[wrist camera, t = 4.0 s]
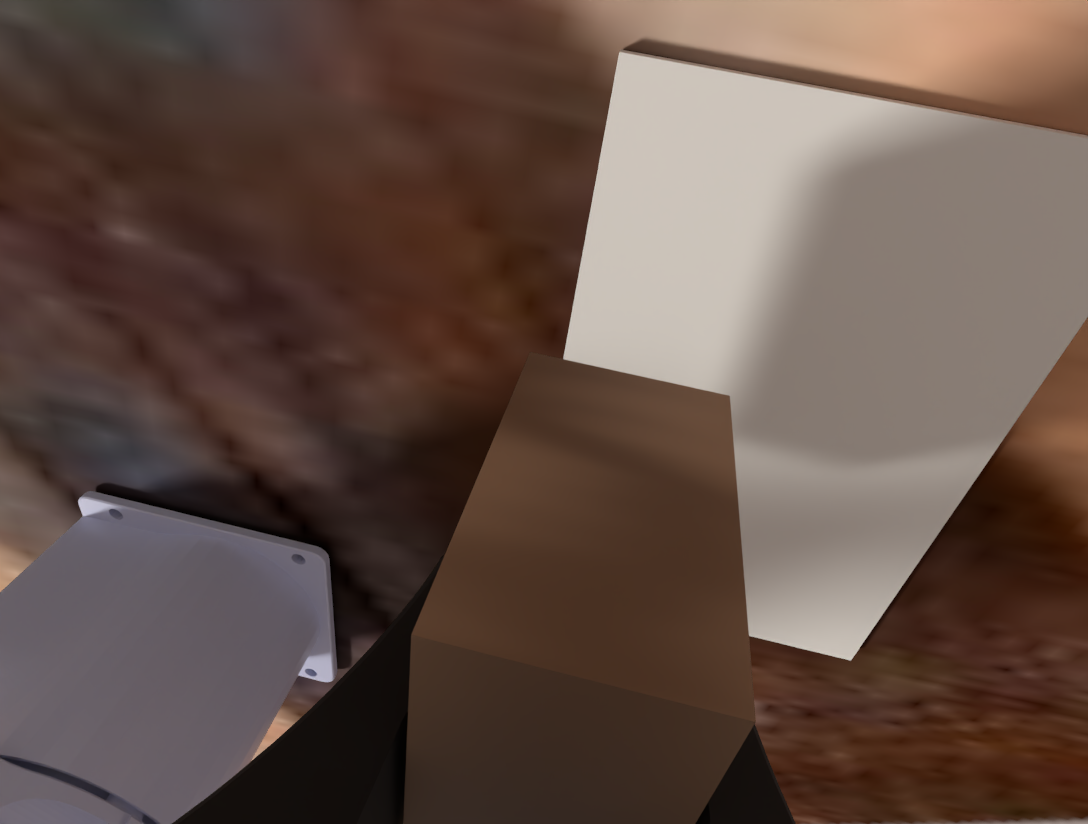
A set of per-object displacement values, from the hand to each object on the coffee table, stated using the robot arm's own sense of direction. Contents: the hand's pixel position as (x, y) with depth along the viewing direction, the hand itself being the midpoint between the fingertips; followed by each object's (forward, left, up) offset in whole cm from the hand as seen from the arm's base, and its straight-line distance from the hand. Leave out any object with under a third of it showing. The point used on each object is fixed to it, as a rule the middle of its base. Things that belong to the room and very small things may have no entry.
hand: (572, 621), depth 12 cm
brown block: (0, 0, -2) cm, 2 cm away
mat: (+4, 0, -8) cm, 9 cm away
